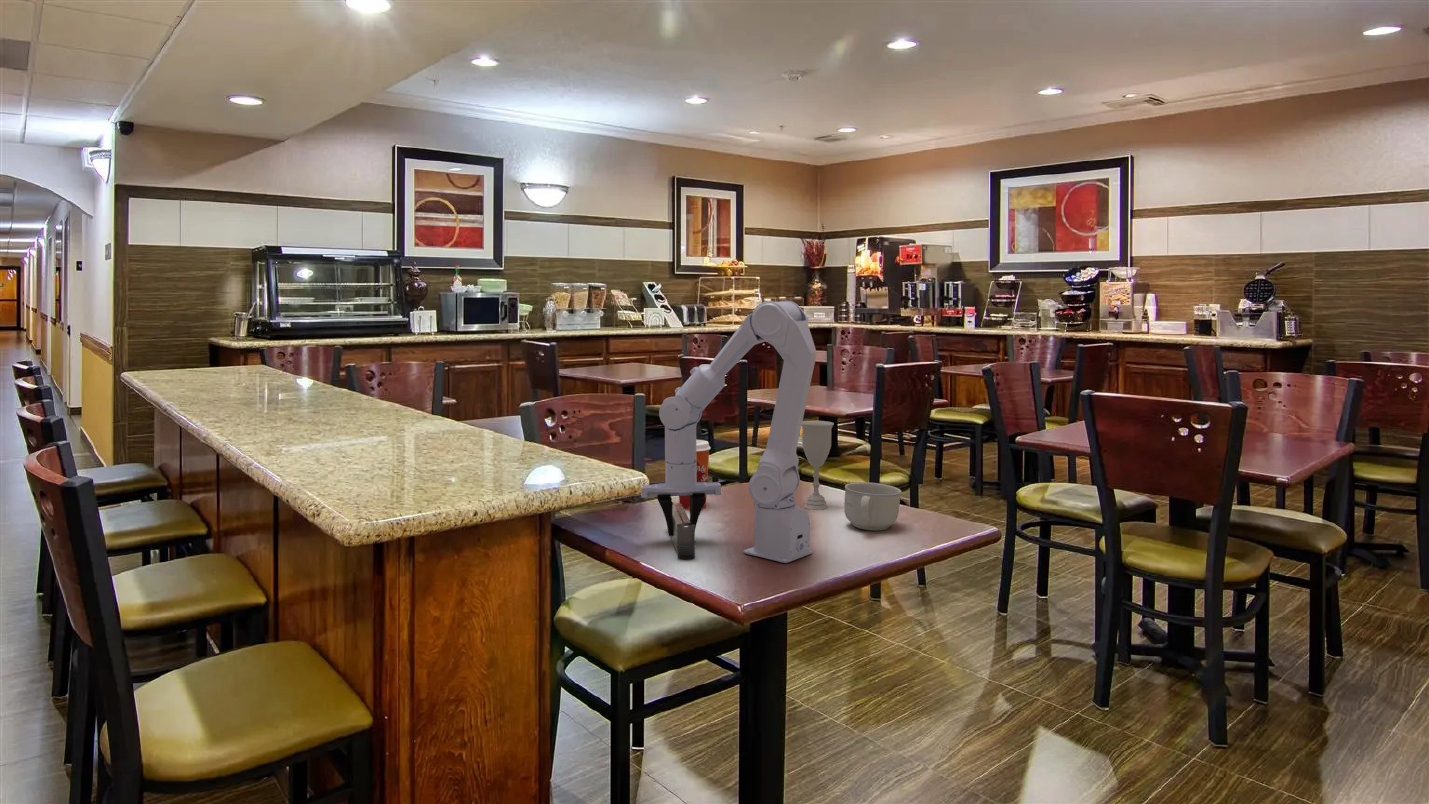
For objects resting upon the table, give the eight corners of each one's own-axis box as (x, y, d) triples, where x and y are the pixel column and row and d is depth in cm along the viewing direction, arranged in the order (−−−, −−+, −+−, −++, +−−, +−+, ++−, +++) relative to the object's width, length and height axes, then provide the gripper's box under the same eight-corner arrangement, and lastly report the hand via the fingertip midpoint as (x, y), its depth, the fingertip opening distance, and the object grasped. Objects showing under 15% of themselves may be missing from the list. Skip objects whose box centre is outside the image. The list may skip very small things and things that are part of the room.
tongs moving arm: (683, 552, 159) (683, 524, 159) (676, 552, 159) (676, 524, 159) (673, 527, 176) (673, 502, 175) (667, 527, 176) (667, 502, 175)
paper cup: (706, 511, 189) (706, 445, 188) (670, 510, 191) (670, 444, 189) (714, 503, 197) (714, 439, 195) (679, 501, 198) (679, 438, 197)
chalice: (792, 506, 194) (793, 422, 192) (813, 501, 199) (814, 419, 196) (818, 512, 189) (819, 426, 186) (839, 507, 193) (840, 423, 191)
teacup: (856, 517, 185) (857, 478, 184) (908, 524, 179) (909, 484, 178) (828, 533, 173) (829, 492, 172) (882, 541, 167) (883, 498, 166)
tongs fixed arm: (696, 559, 156) (695, 526, 155) (678, 560, 156) (678, 527, 155) (681, 528, 176) (681, 499, 175) (666, 529, 176) (666, 500, 175)
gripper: (716, 456, 170) (716, 526, 172) (639, 458, 168) (640, 530, 170) (722, 463, 163) (722, 536, 165) (642, 466, 161) (643, 540, 163)
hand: (681, 534), depth 167 cm, fingers open, 3 cm apart
